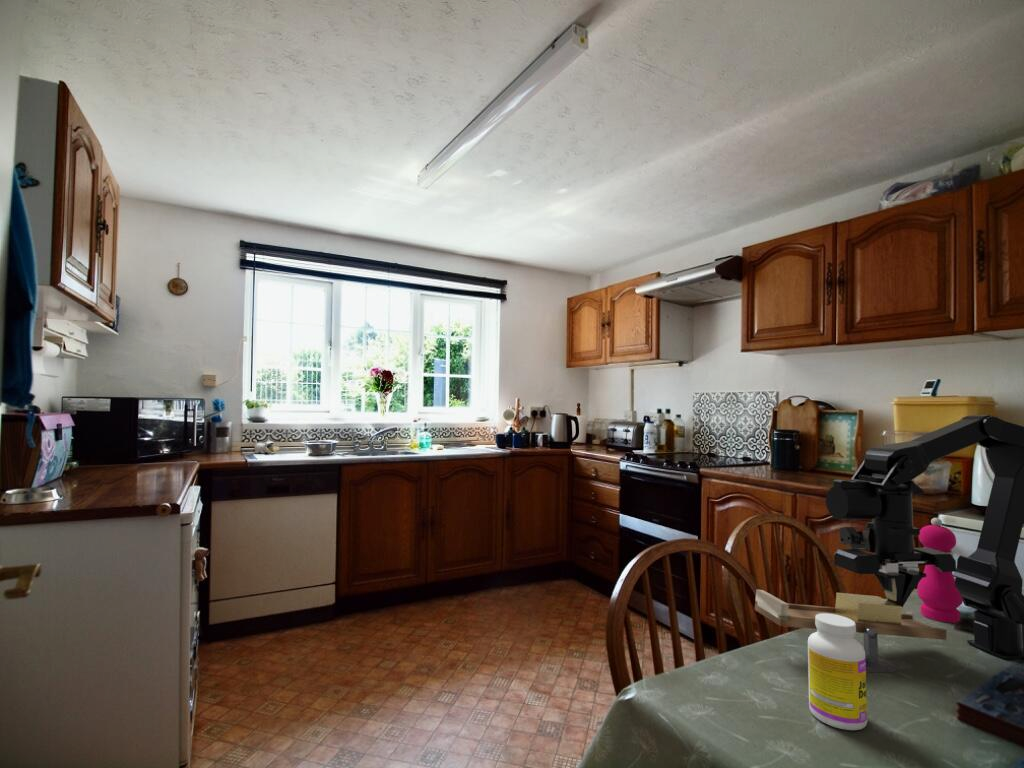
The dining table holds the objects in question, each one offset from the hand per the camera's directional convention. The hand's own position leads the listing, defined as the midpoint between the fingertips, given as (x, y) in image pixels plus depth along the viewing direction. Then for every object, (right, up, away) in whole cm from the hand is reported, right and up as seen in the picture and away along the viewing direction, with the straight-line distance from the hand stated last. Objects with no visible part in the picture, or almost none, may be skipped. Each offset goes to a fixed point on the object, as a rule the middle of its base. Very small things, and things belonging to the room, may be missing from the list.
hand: (895, 610), depth 89 cm
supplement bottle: (-23, -6, -20) cm, 31 cm away
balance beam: (-9, -1, -1) cm, 9 cm away
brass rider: (-5, -1, -1) cm, 6 cm away
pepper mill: (+21, -9, +16) cm, 28 cm away
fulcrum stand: (-9, -7, -1) cm, 11 cm away
